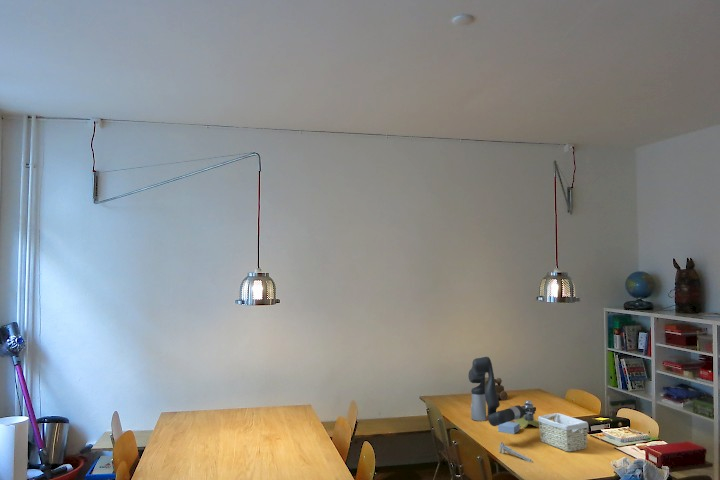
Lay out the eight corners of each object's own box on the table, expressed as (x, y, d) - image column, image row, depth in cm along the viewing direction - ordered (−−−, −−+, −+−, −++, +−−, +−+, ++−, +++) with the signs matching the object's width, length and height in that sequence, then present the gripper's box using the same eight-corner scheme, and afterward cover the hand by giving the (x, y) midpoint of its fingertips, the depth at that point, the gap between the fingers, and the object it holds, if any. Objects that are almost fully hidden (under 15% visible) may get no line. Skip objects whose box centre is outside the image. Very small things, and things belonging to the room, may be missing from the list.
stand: (498, 431, 329) (498, 424, 330) (504, 427, 337) (504, 421, 338) (514, 434, 324) (513, 427, 324) (519, 429, 332) (519, 423, 332)
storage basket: (537, 441, 309) (536, 415, 310) (559, 437, 315) (558, 412, 316) (567, 453, 287) (566, 426, 288) (590, 449, 293) (589, 422, 294)
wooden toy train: (487, 403, 401) (486, 380, 402) (478, 399, 411) (477, 378, 412) (509, 399, 408) (508, 378, 409) (500, 396, 419) (499, 375, 420)
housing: (523, 419, 323) (522, 401, 324) (526, 417, 327) (525, 399, 328) (532, 421, 320) (531, 402, 320) (534, 419, 324) (534, 400, 325)
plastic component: (541, 423, 336) (528, 418, 334) (537, 434, 335) (523, 429, 333) (526, 413, 355) (513, 407, 353) (521, 423, 355) (509, 418, 353)
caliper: (499, 453, 291) (498, 441, 291) (500, 453, 292) (500, 441, 292) (532, 463, 275) (531, 450, 276) (533, 462, 276) (532, 450, 276)
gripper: (524, 409, 310) (541, 403, 320) (504, 404, 321) (521, 399, 331) (525, 422, 309) (542, 416, 320) (504, 416, 320) (521, 411, 331)
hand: (531, 407), depth 326 cm, fingers closed on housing, 5 cm apart
